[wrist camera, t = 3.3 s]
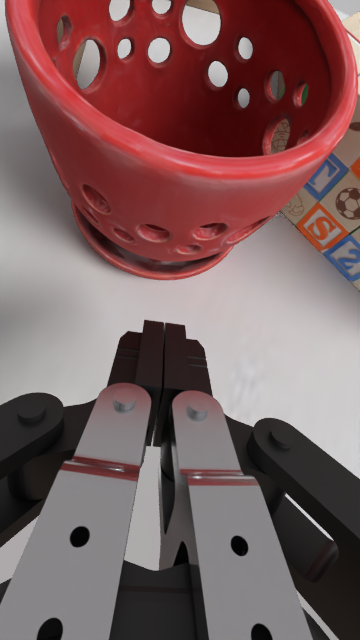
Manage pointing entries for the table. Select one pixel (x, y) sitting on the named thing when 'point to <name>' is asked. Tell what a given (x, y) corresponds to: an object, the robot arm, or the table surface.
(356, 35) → the stack of blocks
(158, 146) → the plant pot
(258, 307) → the table surface
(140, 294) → the table surface
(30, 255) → the table surface
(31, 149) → the table surface
